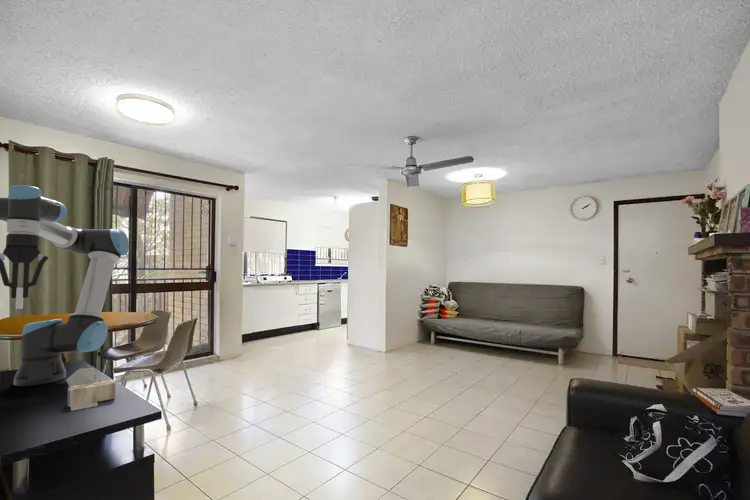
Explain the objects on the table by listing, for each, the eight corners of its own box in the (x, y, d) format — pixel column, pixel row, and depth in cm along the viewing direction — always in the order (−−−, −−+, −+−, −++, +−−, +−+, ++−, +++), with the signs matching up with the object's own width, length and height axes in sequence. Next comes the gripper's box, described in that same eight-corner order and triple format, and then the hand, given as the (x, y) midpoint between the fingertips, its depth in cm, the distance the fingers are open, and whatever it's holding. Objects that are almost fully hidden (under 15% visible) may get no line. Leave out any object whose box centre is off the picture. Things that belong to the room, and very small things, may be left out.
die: (72, 399, 125) (94, 373, 128) (54, 385, 127) (77, 360, 130) (88, 400, 132) (109, 375, 136) (72, 387, 134) (93, 363, 138)
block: (67, 386, 118) (113, 379, 126) (67, 402, 118) (113, 394, 126) (68, 390, 114) (115, 382, 122) (67, 407, 114) (114, 398, 122)
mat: (70, 400, 121) (70, 399, 121) (95, 396, 125) (95, 395, 125) (70, 410, 112) (71, 409, 112) (97, 405, 116) (97, 404, 116)
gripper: (-8, 231, 112) (-13, 310, 110) (49, 234, 120) (46, 308, 119) (-5, 233, 118) (-9, 309, 116) (50, 236, 126) (47, 306, 125)
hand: (19, 308), depth 118 cm, fingers closed
